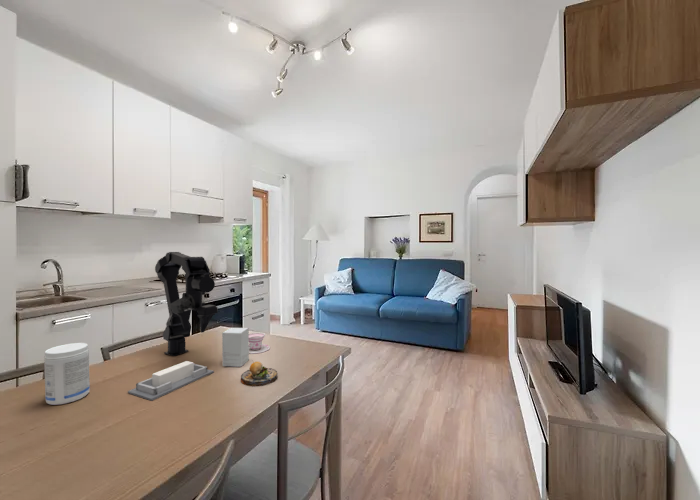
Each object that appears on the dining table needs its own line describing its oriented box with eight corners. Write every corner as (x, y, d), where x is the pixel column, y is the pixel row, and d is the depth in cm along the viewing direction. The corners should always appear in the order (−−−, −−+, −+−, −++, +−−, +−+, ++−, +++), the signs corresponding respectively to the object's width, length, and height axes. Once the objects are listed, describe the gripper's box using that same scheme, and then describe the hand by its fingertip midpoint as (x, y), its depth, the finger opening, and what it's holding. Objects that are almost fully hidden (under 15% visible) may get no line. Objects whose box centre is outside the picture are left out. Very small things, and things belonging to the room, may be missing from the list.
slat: (152, 386, 97) (152, 373, 97) (186, 372, 108) (186, 360, 108) (159, 388, 95) (159, 375, 95) (193, 374, 106) (193, 362, 106)
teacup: (261, 343, 143) (262, 329, 143) (275, 350, 134) (275, 335, 134) (236, 349, 134) (236, 334, 134) (248, 356, 126) (248, 341, 126)
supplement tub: (93, 387, 97) (93, 340, 97) (83, 401, 88) (83, 350, 88) (52, 394, 93) (52, 344, 92) (37, 409, 84) (37, 355, 84)
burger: (281, 382, 103) (282, 359, 103) (244, 390, 97) (245, 366, 97) (271, 369, 113) (271, 349, 113) (237, 376, 107) (237, 354, 107)
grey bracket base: (127, 393, 94) (127, 385, 94) (191, 367, 114) (191, 360, 114) (151, 400, 89) (151, 392, 89) (213, 372, 109) (213, 365, 109)
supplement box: (249, 360, 122) (249, 327, 121) (240, 367, 114) (241, 333, 114) (231, 359, 122) (231, 327, 122) (221, 366, 115) (221, 332, 115)
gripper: (157, 290, 115) (157, 333, 115) (193, 294, 107) (192, 339, 107) (184, 287, 125) (184, 326, 125) (218, 290, 117) (218, 331, 117)
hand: (193, 330), depth 118 cm, fingers open, 9 cm apart
